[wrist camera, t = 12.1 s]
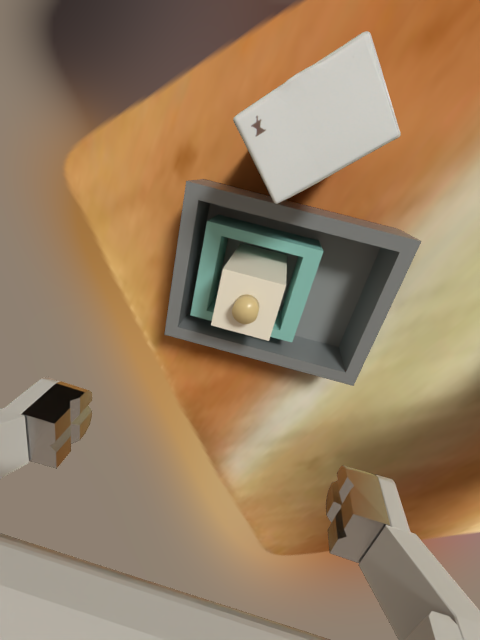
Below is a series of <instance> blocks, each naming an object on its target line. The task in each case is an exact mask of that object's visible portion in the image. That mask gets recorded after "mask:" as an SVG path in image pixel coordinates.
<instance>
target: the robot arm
mask: <svg viewBox="0 0 480 640" xmlns="http://www.w3.org/2000/svg"><path fill="white" fill-rule="evenodd" d="M91 401H92V392H90V391H89V390H86V389H83V388H79V387H77V386H73V385H70V384H67V383H64V382H60V381H57V380H54V379H51V378H48V377H45V378H42V379H40V380H39V381H38V382H36V383H35V384H34V385H32V386H31V387H30V388H29V389H27V390H26V391H25V392H24V393H23V394H21V395H20V396H19V397H18V398H16V399H15V400H14V401H13V402H11V403H10V404H9V405H8V406H6V407H5V408H4V409H1V408H0V478H2V477H4V476H6V475H7V474H9V473H11V472H13V471H15V470H17V469H19V468H20V467H22V466H24V465H26V464H27V463H29V461H31V462H35V463H38V464H42V465H45V466H49V467H53V468H56V469H57V467H58V466H59V465H60V464H61V463H62V461H63V460H64V459H65V458H66V456H67V455H68V454H69V453H70V452H71V444H72V443H74V442H77V441H79V440H80V439H81V438H82V437H83V435H84V434H85V432H86V430H87V428H88V427H89V425H90V421H91V417H92V411H91V409H90V408H89V406H88V405H89V403H90V402H91ZM337 478H338V480H337V481H335V482H333V483H332V484H331V486H330V488H329V490H328V494H327V499H326V515H327V517H328V518H329V520H330V521H331V525H330V527H329V528H328V539H329V550H330V553H331V554H333V555H336V556H339V557H342V558H346V559H348V560H351V561H354V562H357V563H359V566H360V568H361V570H362V572H363V574H364V576H365V578H366V580H367V582H368V583H369V585H370V587H371V589H372V591H373V593H374V595H375V596H376V598H377V600H378V602H379V604H380V606H381V608H382V610H383V611H384V613H385V615H386V617H387V619H388V621H389V623H390V624H391V626H392V628H393V630H394V632H395V634H396V636H397V638H398V639H399V640H480V611H479V610H478V608H477V607H476V606H475V605H474V604H473V603H472V601H471V600H470V599H469V598H468V596H467V595H466V594H465V593H464V592H463V590H462V589H461V588H460V587H459V586H458V584H457V583H456V582H455V581H454V579H453V578H452V577H451V576H450V575H449V573H448V572H447V571H446V570H445V569H444V568H443V566H442V565H441V564H440V563H439V562H438V560H437V559H436V558H435V557H434V556H433V554H432V553H431V552H430V551H429V549H428V548H427V547H426V546H425V545H424V544H423V542H422V541H421V540H420V539H419V537H418V536H417V535H416V534H414V533H411V532H410V529H409V526H408V523H407V519H406V516H405V513H404V510H403V507H402V504H401V500H400V497H399V494H398V491H397V488H396V485H395V482H394V481H393V480H392V479H390V478H386V477H383V476H379V475H374V474H372V473H368V472H365V471H361V470H358V469H354V468H351V467H347V466H344V465H343V466H341V467H340V469H339V470H338V472H337ZM0 640H329V639H326V638H323V637H320V636H317V635H314V634H311V633H308V632H305V631H302V630H298V629H295V628H292V627H289V626H286V625H283V624H280V623H277V622H274V621H271V620H268V619H265V618H262V617H259V616H255V615H252V614H249V613H246V612H243V611H240V610H237V609H234V608H231V607H227V606H225V605H221V604H218V603H215V602H212V601H209V600H206V599H203V598H200V597H197V596H194V595H191V594H188V593H184V592H181V591H178V590H175V589H172V588H169V587H166V586H163V585H159V584H156V583H153V582H150V581H147V580H144V579H141V578H138V577H135V576H132V575H129V574H125V573H122V572H119V571H116V570H113V569H110V568H107V567H103V566H101V565H98V564H94V563H91V562H88V561H85V560H82V559H79V558H76V557H73V556H70V555H67V554H63V553H60V552H57V551H54V550H51V549H48V548H45V547H42V546H39V545H36V544H33V543H29V542H26V541H23V540H20V539H17V538H14V537H11V536H8V535H5V534H2V533H0Z"/></svg>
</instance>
